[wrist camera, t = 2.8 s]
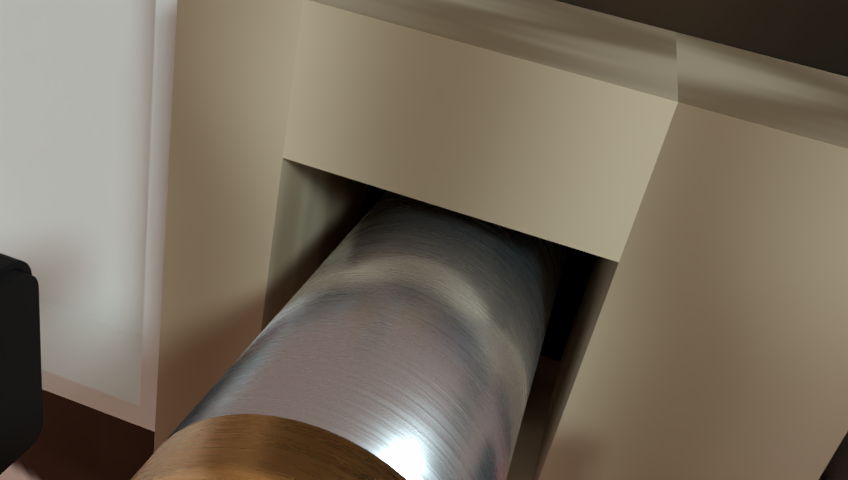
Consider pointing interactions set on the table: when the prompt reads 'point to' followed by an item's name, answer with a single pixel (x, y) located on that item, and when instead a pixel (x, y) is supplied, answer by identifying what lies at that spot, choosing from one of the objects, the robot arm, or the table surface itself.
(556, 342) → the table surface
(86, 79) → the tray
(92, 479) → the table surface
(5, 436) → the robot arm
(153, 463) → the pin
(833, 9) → the table surface
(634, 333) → the socket block
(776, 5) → the table surface
